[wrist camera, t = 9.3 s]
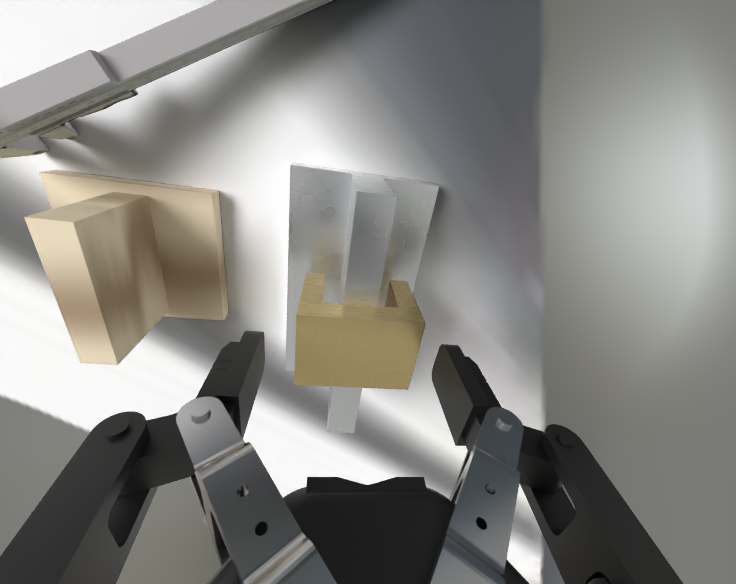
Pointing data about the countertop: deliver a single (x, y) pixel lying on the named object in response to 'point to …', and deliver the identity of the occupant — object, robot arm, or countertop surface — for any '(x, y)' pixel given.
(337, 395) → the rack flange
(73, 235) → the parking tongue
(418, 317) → the u clip
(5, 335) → the countertop surface
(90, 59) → the caliper
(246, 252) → the countertop surface
